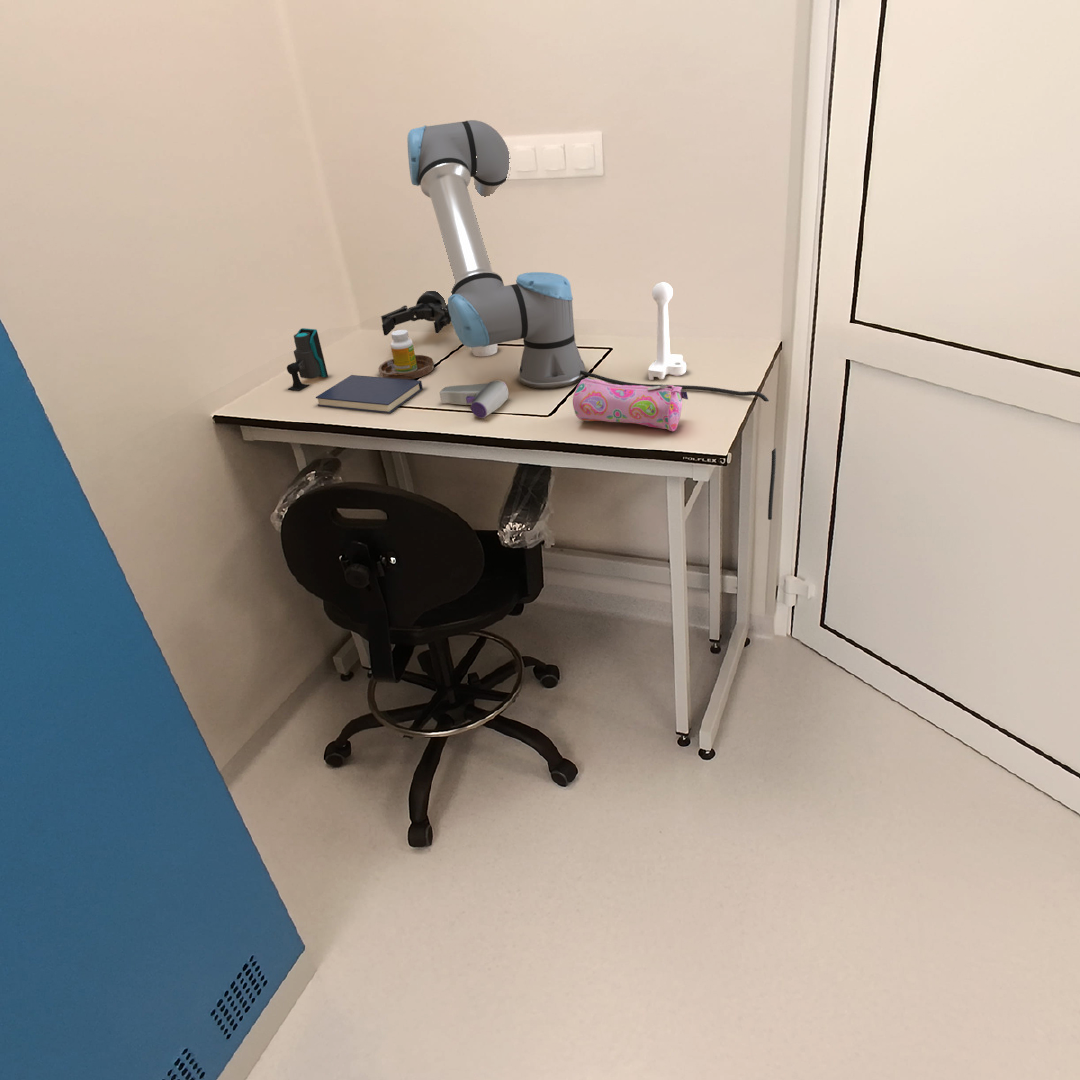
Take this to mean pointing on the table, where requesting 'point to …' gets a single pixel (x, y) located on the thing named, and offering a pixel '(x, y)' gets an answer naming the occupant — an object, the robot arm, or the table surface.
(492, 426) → the table surface
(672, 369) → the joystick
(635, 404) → the pencil case
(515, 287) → the robot arm
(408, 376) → the brown round tray
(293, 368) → the surveillance camera
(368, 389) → the book
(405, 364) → the supplement bottle
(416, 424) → the table surface
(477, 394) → the infrared thermometer
